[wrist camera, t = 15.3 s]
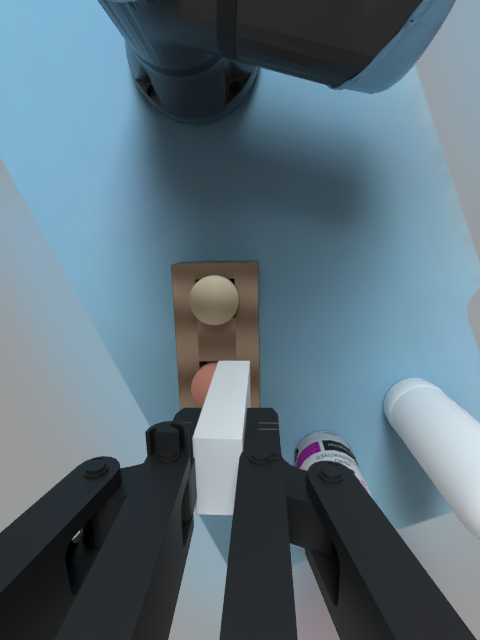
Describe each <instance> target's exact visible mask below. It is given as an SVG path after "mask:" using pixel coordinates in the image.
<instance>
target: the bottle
mask: <svg viewBox="0 0 480 640" xmlns="http://www.w3.org/2000/svg"><path fill="white" fill-rule="evenodd" d="M383 410H384V413H385V415H386V417H387V419H388V421H389V423H390V424H391V426H392V428H393V429H394V430H395V431H396V432H397V433H398V434H399V436H400V437H401V439H402V440H403V441H404V443H405V444H406V446H407V447H408V448H409V450H410V451H411V453H412V454H413V455H414V457H415V458H416V460H417V461H418V462H419V464H420V465H421V467H422V468H423V469H424V471H425V472H426V473H427V475H428V476H429V478H430V479H431V480H432V482H433V483H434V485H435V486H436V487H437V489H438V490H439V492H440V493H441V494H442V496H443V497H444V499H445V500H446V501H447V503H448V504H449V506H450V507H451V508H452V510H453V511H454V513H455V514H456V515H457V517H458V518H459V519H460V521H461V522H462V524H463V525H464V526H465V527H466V528H467V529H468V530H469V531H470V532H471V533H472V534H474V535H475V536H477V538H479V539H480V423H479V422H478V421H477V420H475V419H474V418H473V417H472V416H471V415H469V414H468V413H467V412H466V411H465V410H463V409H462V408H461V407H460V406H458V405H457V404H456V403H455V402H454V401H452V400H451V399H450V398H449V397H448V396H446V395H445V394H444V393H443V392H442V391H441V390H440V389H439V388H438V387H437V386H435V385H433V384H432V383H431V382H429V381H426V380H424V379H422V378H407V379H403V380H400V381H399V382H397V383H396V384H394V385H392V387H391V388H390V389H389V390H388V391H387V393H386V395H385V398H384V401H383Z"/></svg>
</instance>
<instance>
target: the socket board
mask: <svg viewBox="0 0 480 640" xmlns="http://www.w3.org/2000/svg"><path fill="white" fill-rule="evenodd" d="M171 271H172V287H173V303H174V318H175V334H176V350H177V366H178V381H179V397H180V410H182V409H183V408H201V407H200V406H199V405H198V404H197V403H196V402H195V400H194V399H193V396H192V393H191V384H192V381H193V379H194V376H195V374H196V373H197V371H198V370H199V369H200V368H201V367H202V366H204V365H205V364H207V361H250V408H260V387H259V303H258V261H215V262H181V263H177V264H173V265H171ZM210 275H220V276H224V277H226V278H228V279H234V280H235V286H236V288H237V290H238V294H239V305H238V308H237V311H236V313H235V314H234V316H233V317H232V318H231V319H230V320H229V321H227V322H225V323H223V324H220V325H209V324H206V323H203V322H201V321H200V320H199V319H197V318H196V317H195V315H194V314H193V312H192V311H191V308H190V304H189V296H190V292H191V290H192V288H193V286H194V285H195V284H196V283H197V282H198V281H199V280H201V279H202V278H204V277H206V276H210Z"/></svg>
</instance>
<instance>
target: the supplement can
mask: <svg viewBox="0 0 480 640" xmlns="http://www.w3.org/2000/svg"><path fill="white" fill-rule="evenodd" d="M294 460H295V466H296V468H299V469H303V470H307V471H308V468H309V466H311V465H312V464H313V463H315V462H319V461H334V462H338V463H341V464H343V465H345V466H347V467H348V468H349V469H350V470H351V471H352V472H353V473H354V474H355V476H356V477H357V478H358V480H359V481H360V482H361V484H362V485H363V486H364V488H365V489H366V491H367V492H368V493H369V495H370V496H371V497H372V495H371V493H370V491H369V488H368V486H367V484H366V481H365V479H364V477H363V475H362V472H361V470H360V468H359V465H358V463H357V461H356V459H355V456H354V454H353V452H352V450H351V447H350V446H349V444H348V443H347V441H346V440H345V439H344V438H343V437H341V436H340V435H338V434H336V433H333V432H329V431H317V432H314V433H311V434H309V435H307V436H306V437H305V438H303V439H302V440H301V441H300V442H299V444H298V446H297V447H296V449H295V456H294ZM372 499H373V497H372Z"/></svg>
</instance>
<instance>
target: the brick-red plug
mask: <svg viewBox="0 0 480 640" xmlns="http://www.w3.org/2000/svg"><path fill="white" fill-rule="evenodd" d="M217 364H218V361H210V363H208V364H205V365H204V366H202V367H201V368H200V369H199V370H198V371H197V373H196V374H195V376H194V379H193V381H192V384H191V393H192V396H193V399H194V400H195V402H196V403H197V404H198V405H199V406H200V407H201V408H203V405H204V402H205V399H206V396H207V393H208V391H209V388H210V385H211V382H212V379H213V376H214V373H215V370H216V367H217Z"/></svg>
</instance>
